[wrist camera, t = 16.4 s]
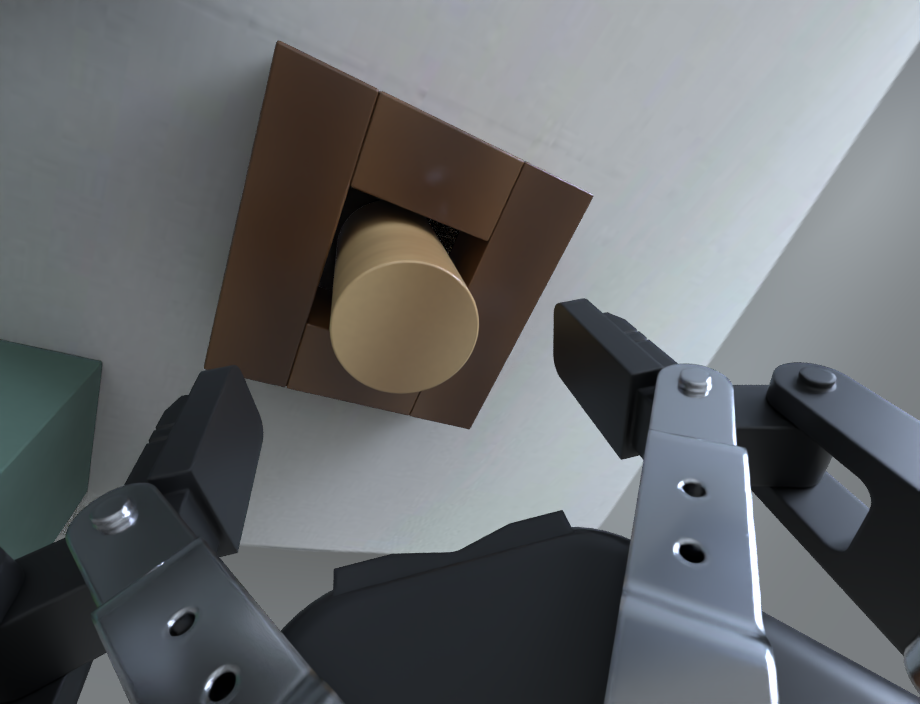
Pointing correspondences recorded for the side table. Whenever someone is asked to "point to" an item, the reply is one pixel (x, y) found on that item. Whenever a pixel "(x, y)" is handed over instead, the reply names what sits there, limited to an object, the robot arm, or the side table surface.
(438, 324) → the peg
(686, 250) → the side table surface
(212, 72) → the side table surface
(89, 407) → the stand
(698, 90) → the side table surface
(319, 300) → the socket block
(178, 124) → the side table surface
